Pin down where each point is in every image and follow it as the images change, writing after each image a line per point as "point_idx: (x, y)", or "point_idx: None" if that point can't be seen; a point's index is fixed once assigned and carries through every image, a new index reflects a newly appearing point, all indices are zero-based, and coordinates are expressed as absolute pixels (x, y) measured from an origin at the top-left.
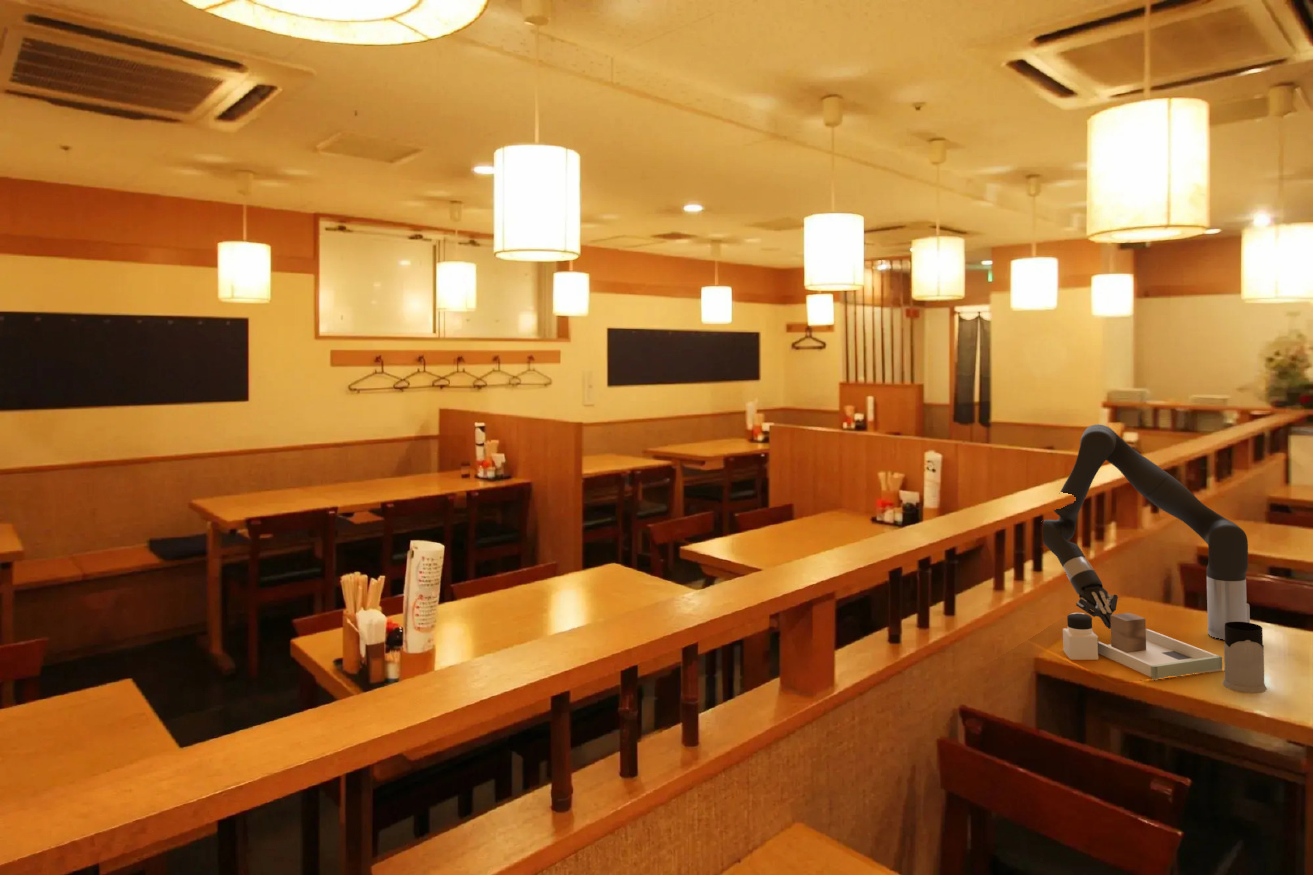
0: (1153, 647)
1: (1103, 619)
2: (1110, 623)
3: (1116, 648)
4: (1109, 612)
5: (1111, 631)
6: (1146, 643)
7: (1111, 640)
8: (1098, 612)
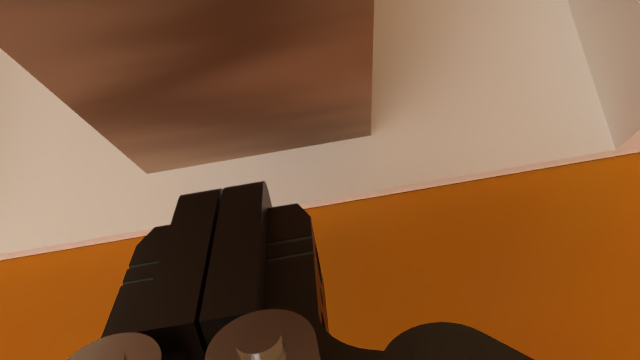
0: None
1: (324, 314)
2: (266, 206)
3: None
4: (128, 348)
5: (369, 46)
6: (1, 146)
7: (369, 107)
8: (430, 325)
